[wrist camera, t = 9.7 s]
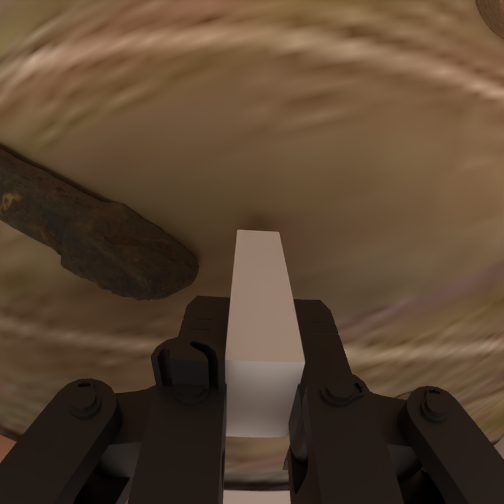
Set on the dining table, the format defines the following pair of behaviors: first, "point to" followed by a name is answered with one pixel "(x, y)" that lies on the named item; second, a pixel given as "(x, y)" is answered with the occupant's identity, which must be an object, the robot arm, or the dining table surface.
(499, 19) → the cylinder
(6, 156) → the hand tool
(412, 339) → the dining table surface
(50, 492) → the robot arm
